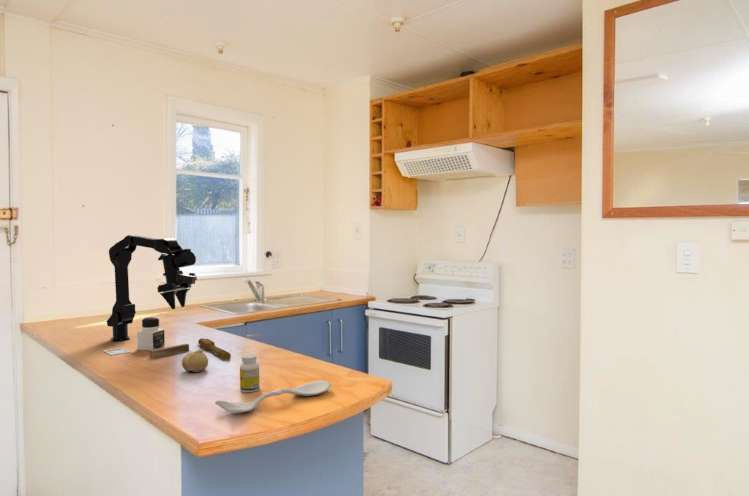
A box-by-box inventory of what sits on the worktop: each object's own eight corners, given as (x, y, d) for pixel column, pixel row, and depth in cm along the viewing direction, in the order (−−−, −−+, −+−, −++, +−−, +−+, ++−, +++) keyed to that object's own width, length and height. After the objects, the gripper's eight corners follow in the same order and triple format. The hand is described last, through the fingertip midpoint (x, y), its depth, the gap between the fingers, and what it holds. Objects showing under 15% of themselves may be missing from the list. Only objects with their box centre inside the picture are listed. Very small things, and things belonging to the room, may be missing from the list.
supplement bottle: (242, 387, 145) (241, 353, 144) (260, 386, 145) (260, 353, 145) (238, 393, 139) (238, 358, 139) (258, 392, 140) (257, 358, 139)
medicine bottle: (153, 351, 189) (152, 319, 189) (137, 350, 191) (136, 319, 190) (165, 346, 196) (164, 316, 196) (149, 345, 198) (148, 316, 197)
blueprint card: (102, 350, 190) (102, 350, 190) (122, 347, 194) (122, 347, 194) (110, 355, 182) (110, 354, 182) (130, 352, 187) (130, 351, 187)
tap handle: (222, 353, 175) (196, 338, 199) (223, 361, 175) (197, 345, 199) (231, 351, 176) (204, 337, 201) (231, 360, 177) (204, 344, 201)
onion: (192, 376, 156) (192, 353, 156) (176, 372, 161) (176, 350, 160) (213, 369, 163) (212, 348, 163) (197, 366, 167) (197, 345, 167)
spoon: (214, 413, 125) (214, 399, 125) (318, 386, 146) (318, 374, 146) (230, 423, 118) (230, 409, 118) (337, 393, 140) (337, 381, 139)
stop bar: (150, 357, 180) (150, 350, 179) (186, 349, 190) (185, 343, 190) (153, 358, 178) (152, 351, 178) (189, 350, 189) (188, 344, 189)
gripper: (182, 266, 190) (189, 306, 189) (200, 265, 208) (206, 302, 208) (153, 271, 190) (160, 311, 189) (174, 270, 208) (180, 307, 208)
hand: (178, 307), depth 199 cm, fingers open, 9 cm apart
